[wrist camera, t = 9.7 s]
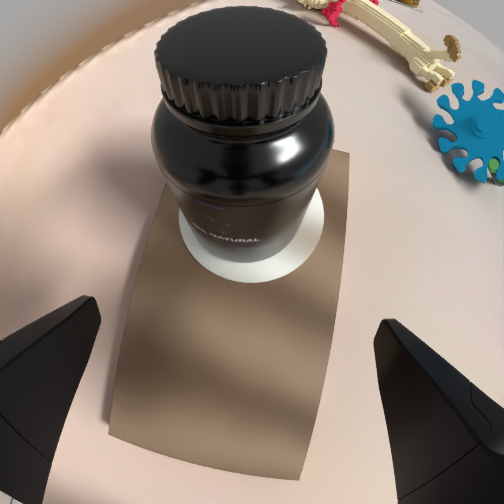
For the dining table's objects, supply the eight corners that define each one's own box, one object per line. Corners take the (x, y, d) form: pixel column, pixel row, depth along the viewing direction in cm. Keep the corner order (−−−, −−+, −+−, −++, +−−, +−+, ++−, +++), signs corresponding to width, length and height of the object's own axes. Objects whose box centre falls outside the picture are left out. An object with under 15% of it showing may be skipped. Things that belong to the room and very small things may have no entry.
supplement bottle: (209, 283, 16) (119, 163, 5) (179, 184, 18) (112, 26, 7) (320, 243, 17) (412, 92, 6) (277, 153, 19) (294, -12, 7)
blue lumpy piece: (413, 98, 21) (492, 64, 14) (422, 119, 25) (490, 89, 19) (464, 208, 19) (550, 172, 13) (463, 212, 24) (535, 182, 17)
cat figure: (448, 88, 26) (322, -9, 30) (480, 48, 18) (332, -49, 22) (414, 105, 25) (274, -2, 29) (451, 54, 16) (279, -50, 20)
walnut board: (296, 472, 14) (299, 481, 13) (116, 429, 15) (106, 435, 14) (345, 162, 20) (350, 151, 19) (190, 137, 21) (187, 126, 20)
